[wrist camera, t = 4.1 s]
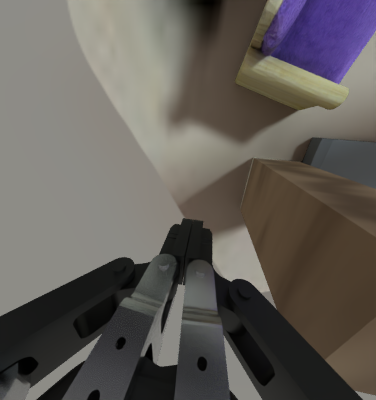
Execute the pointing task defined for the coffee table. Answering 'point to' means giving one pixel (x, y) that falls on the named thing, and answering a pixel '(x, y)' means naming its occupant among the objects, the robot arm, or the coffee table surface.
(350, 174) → the mat
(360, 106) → the coffee table surface
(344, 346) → the walnut block
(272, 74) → the toy sofa
